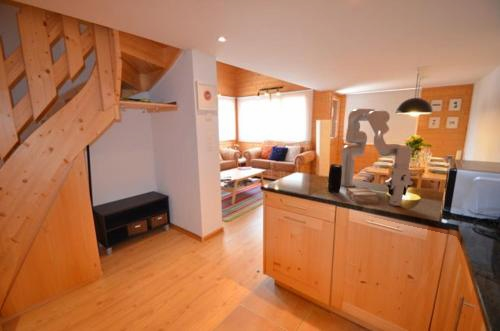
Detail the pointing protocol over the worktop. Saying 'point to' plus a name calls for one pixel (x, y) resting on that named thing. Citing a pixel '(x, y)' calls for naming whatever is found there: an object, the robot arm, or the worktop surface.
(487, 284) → the worktop surface
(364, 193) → the wood stand
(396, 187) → the travel mug
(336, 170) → the portable speaker
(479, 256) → the worktop surface
